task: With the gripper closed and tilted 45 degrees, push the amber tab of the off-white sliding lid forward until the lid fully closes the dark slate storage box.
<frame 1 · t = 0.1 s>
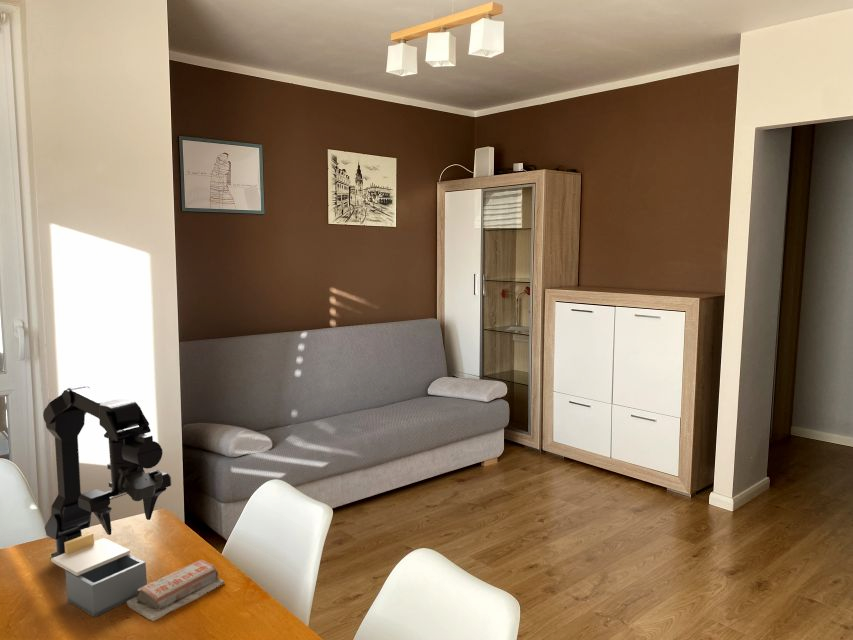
hand: (129, 526, 146), 15 cm above the table, tool pointing down, fingers open, 9 cm apart
storage box: (108, 596, 145), on the table
packaged product: (177, 597, 145), on the table
lid: (90, 550, 147), point 9 cm above the table, slide at 6.0 cm
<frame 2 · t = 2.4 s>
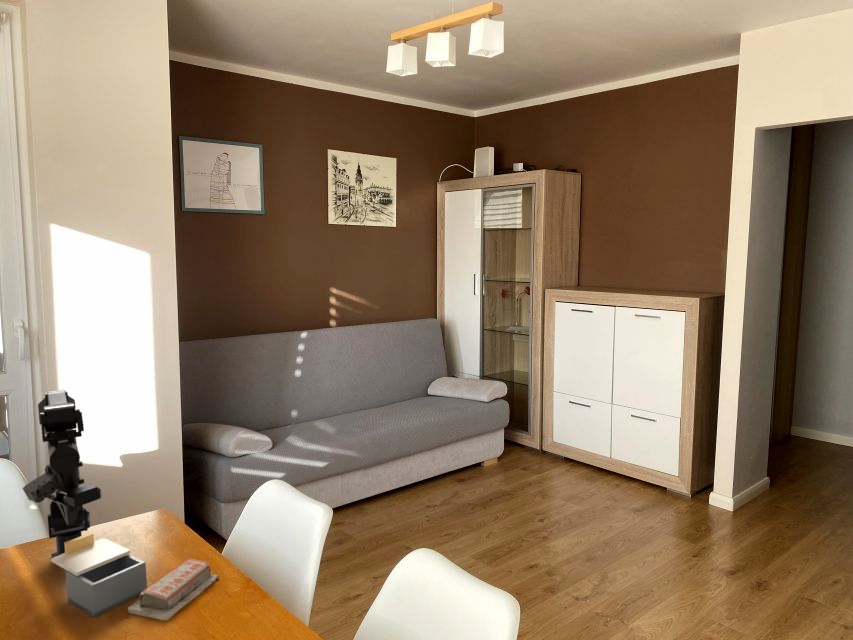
hand: (70, 524, 152), 13 cm above the table, tool pointing down, fingers closed
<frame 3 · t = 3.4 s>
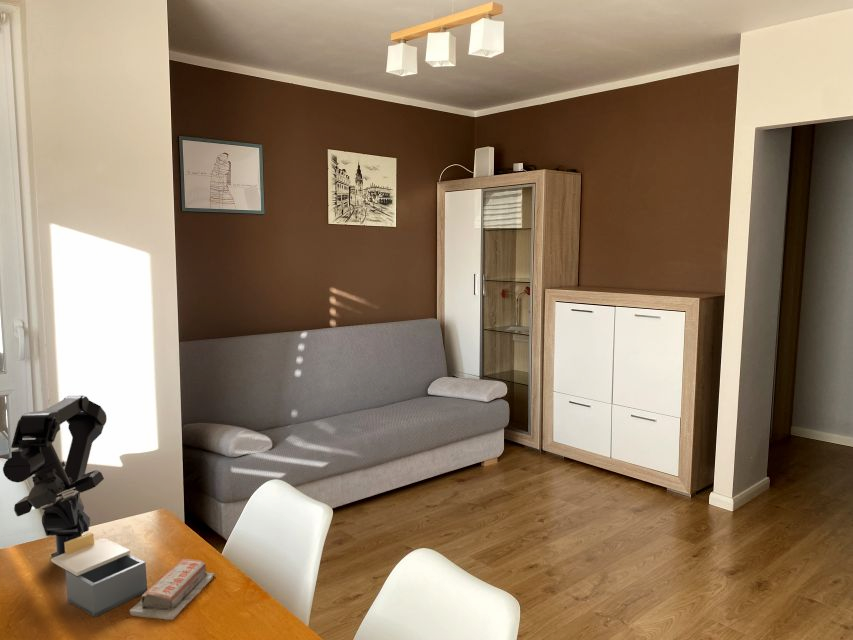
hand: (74, 525, 154), 12 cm above the table, tool tilted 20°, fingers closed
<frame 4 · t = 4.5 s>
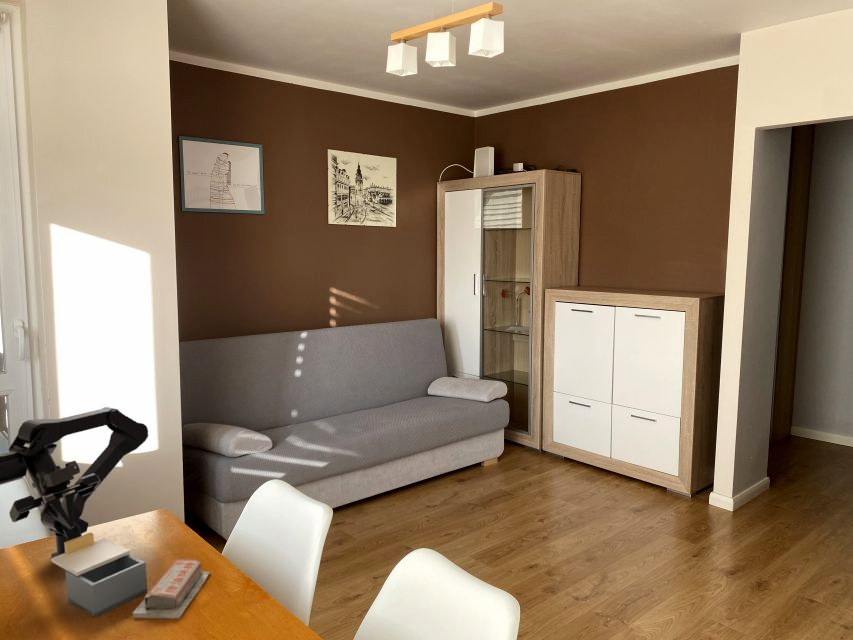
hand: (72, 527, 151), 12 cm above the table, tool tilted 45°, fingers closed
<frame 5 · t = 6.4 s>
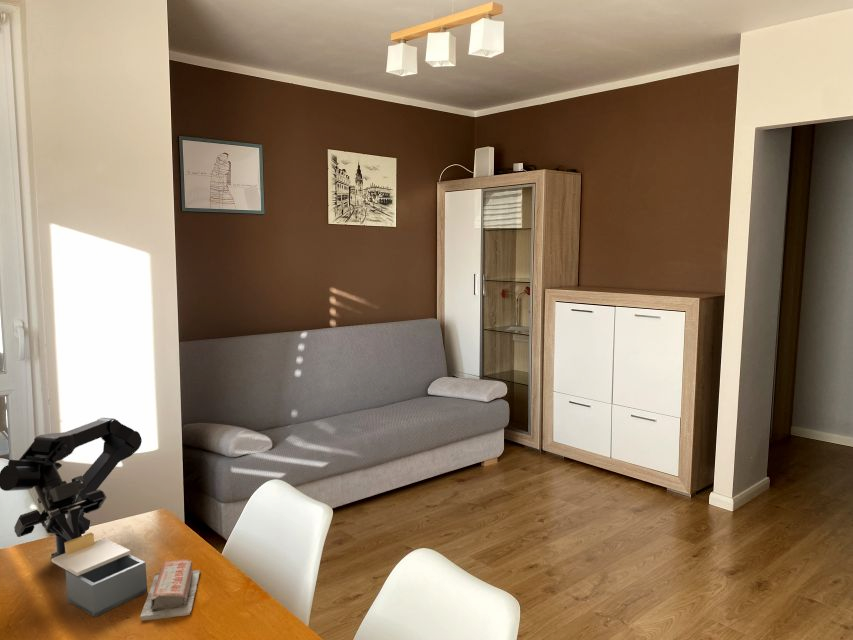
hand: (76, 543, 150), 9 cm above the table, tool tilted 45°, fingers closed
lid: (91, 550, 147), point 9 cm above the table, slide at 5.9 cm, touching gripper
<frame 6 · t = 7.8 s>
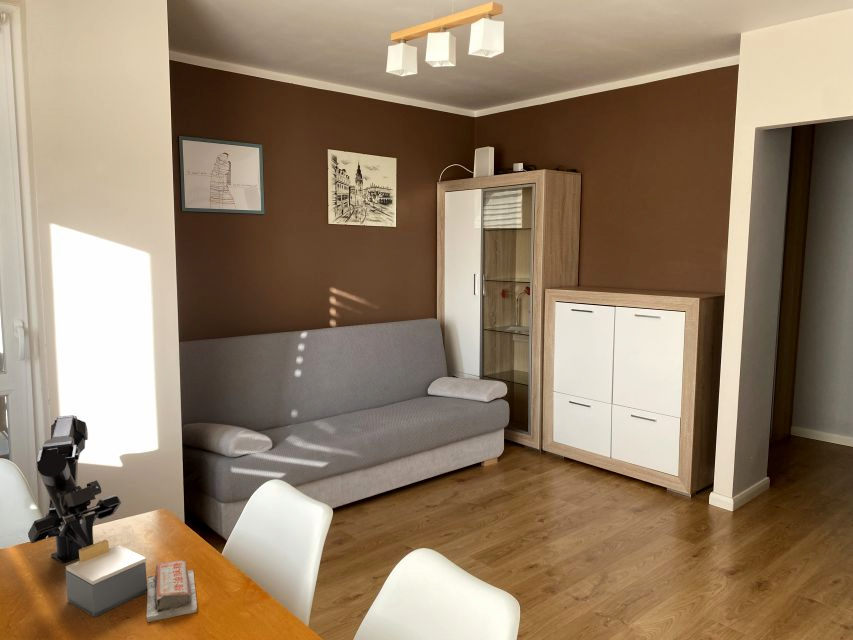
hand: (91, 550, 147), 9 cm above the table, tool tilted 45°, fingers closed, pressing on lid
lid: (106, 558, 144), point 9 cm above the table, slide at -0.3 cm, touching gripper
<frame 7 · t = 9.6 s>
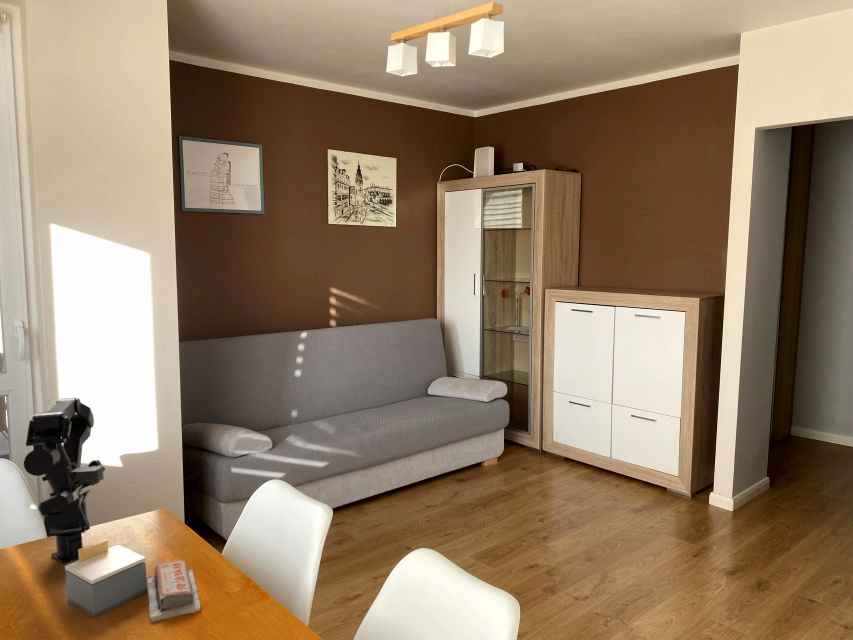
hand: (85, 526, 153), 12 cm above the table, tool tilted 20°, fingers closed
lid: (105, 557, 144), point 9 cm above the table, slide at 0.0 cm
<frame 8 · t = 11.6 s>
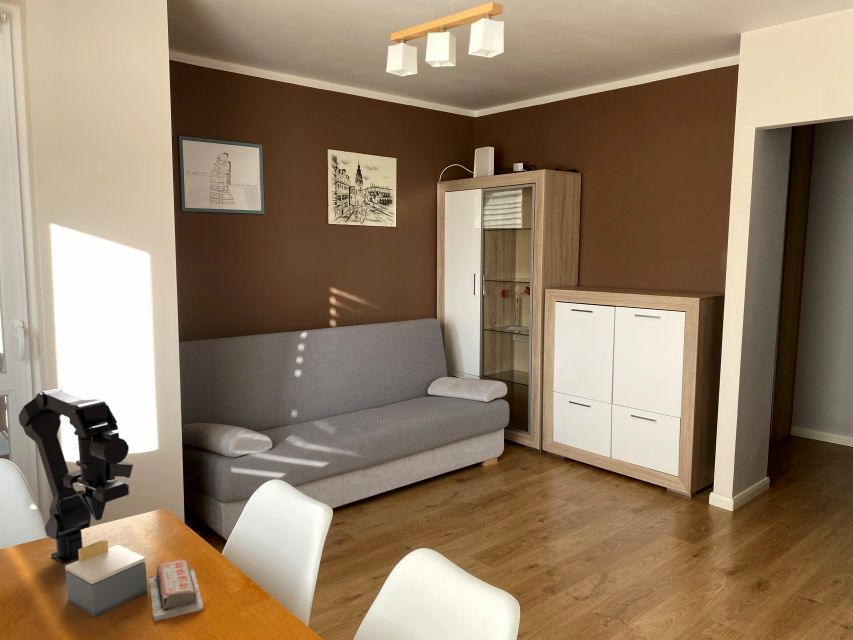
hand: (98, 519, 154), 13 cm above the table, tool pointing down, fingers closed
at the end: lid slide at 0.0 cm; packaged product moved 0.8 cm from its start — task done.
